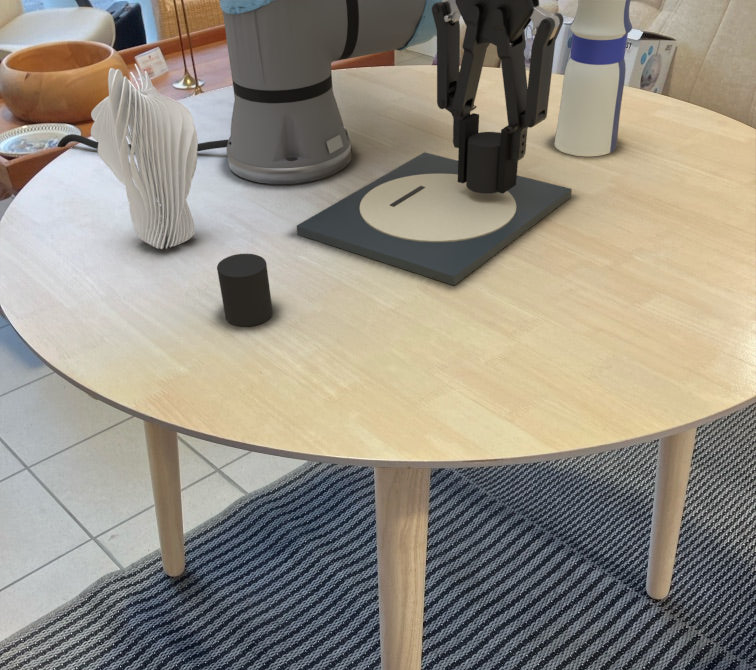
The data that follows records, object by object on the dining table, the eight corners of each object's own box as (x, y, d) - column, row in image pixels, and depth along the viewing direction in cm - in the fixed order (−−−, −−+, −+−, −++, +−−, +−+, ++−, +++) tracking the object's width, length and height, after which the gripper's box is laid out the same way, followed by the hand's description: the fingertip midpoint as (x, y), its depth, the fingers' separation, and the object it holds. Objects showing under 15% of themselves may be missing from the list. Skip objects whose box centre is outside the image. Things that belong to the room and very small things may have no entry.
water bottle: (560, 128, 112) (586, -105, 95) (626, 137, 109) (665, -102, 92) (540, 150, 106) (564, -92, 89) (608, 160, 103) (646, -88, 86)
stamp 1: (215, 317, 79) (206, 268, 76) (247, 297, 82) (240, 248, 79) (250, 331, 77) (242, 281, 74) (282, 310, 80) (276, 261, 77)
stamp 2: (458, 188, 93) (460, 141, 90) (479, 174, 96) (482, 128, 93) (493, 197, 91) (496, 149, 88) (513, 183, 94) (517, 136, 91)
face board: (297, 234, 91) (295, 222, 91) (424, 160, 105) (424, 149, 104) (454, 285, 82) (454, 273, 82) (570, 197, 96) (572, 186, 95)
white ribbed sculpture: (174, 216, 96) (138, 39, 83) (218, 239, 91) (187, 55, 79) (109, 242, 91) (62, 59, 79) (153, 267, 87) (110, 77, 75)
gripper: (398, -71, 79) (402, 178, 95) (567, -54, 72) (540, 214, 87) (443, -85, 84) (439, 156, 100) (607, -70, 76) (574, 189, 92)
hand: (486, 183), depth 93 cm, fingers closed on stamp 2, 4 cm apart
